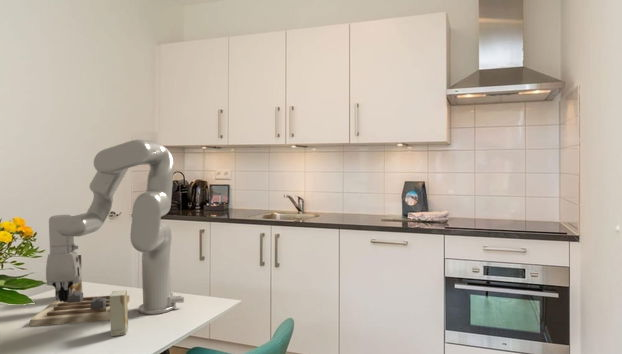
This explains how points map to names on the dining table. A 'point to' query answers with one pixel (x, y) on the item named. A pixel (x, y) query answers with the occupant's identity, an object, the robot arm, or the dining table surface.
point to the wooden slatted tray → (72, 312)
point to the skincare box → (118, 313)
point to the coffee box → (75, 286)
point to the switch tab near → (98, 303)
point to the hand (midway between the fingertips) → (64, 300)
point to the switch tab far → (75, 297)
